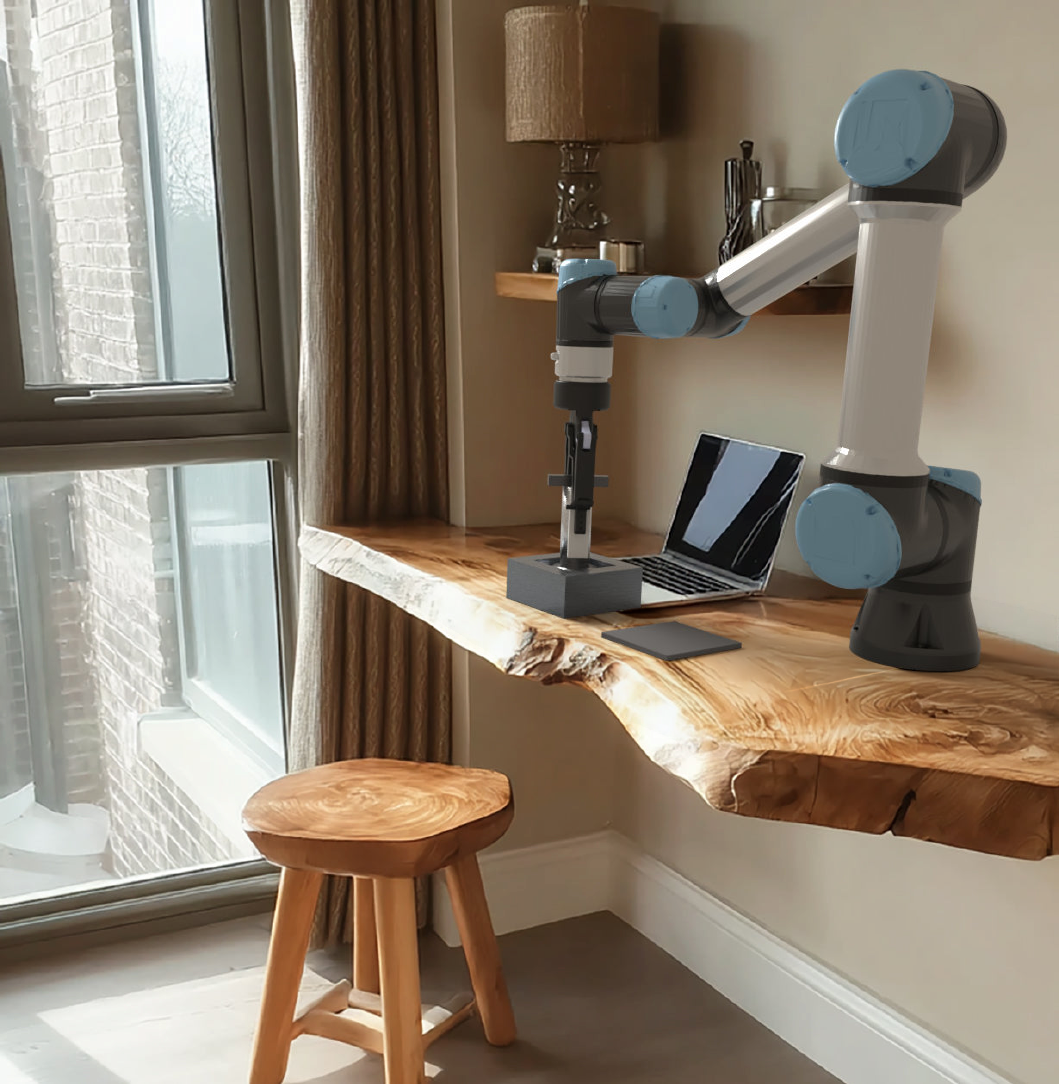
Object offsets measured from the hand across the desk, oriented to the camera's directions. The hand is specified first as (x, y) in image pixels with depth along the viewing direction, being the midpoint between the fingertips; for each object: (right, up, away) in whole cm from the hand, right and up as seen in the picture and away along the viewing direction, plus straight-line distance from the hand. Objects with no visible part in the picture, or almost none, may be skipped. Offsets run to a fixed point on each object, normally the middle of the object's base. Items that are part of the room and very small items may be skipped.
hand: (575, 553), depth 174 cm
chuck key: (0, -4, +1) cm, 4 cm away
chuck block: (0, -7, +1) cm, 7 cm away
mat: (+11, -11, -17) cm, 23 cm away
